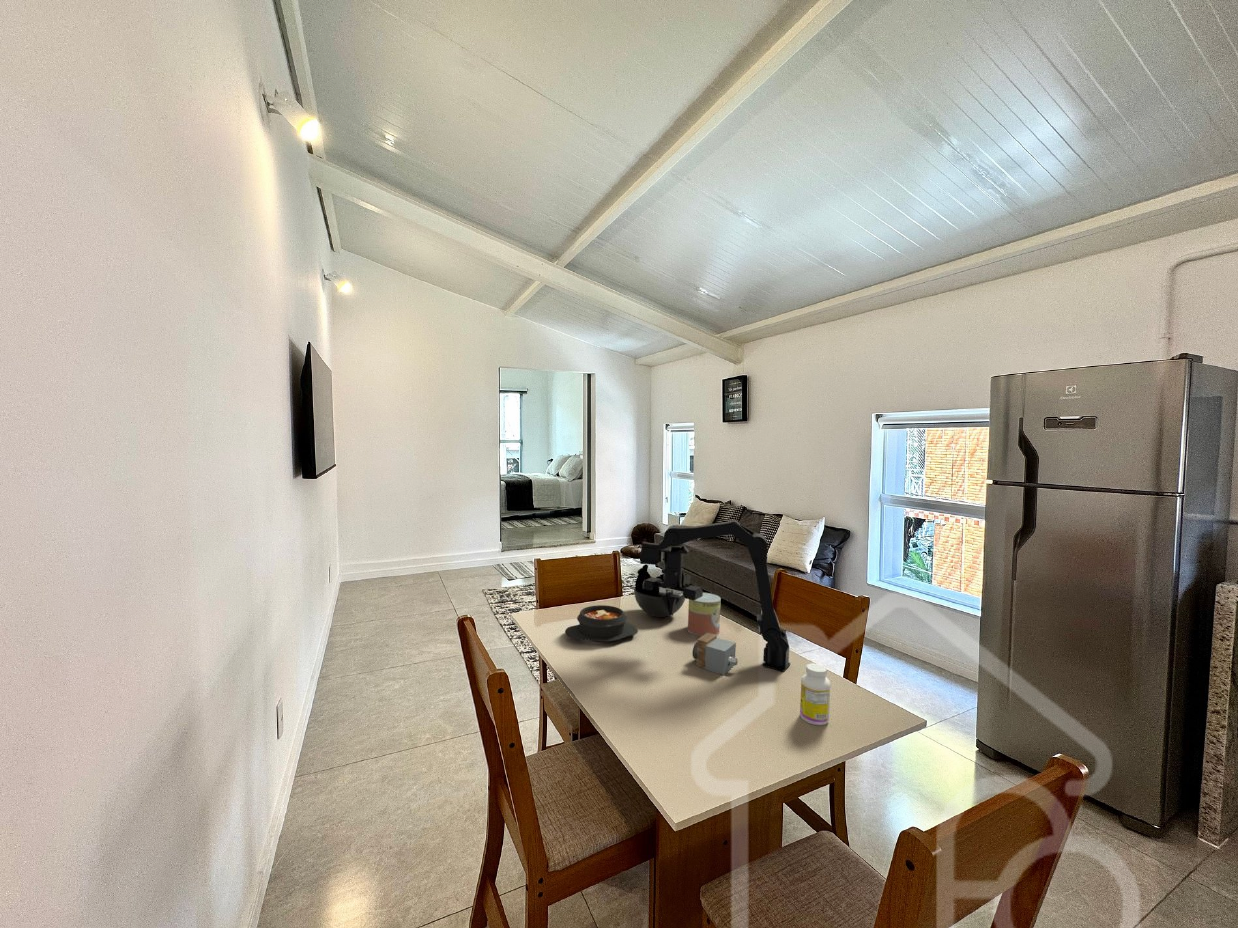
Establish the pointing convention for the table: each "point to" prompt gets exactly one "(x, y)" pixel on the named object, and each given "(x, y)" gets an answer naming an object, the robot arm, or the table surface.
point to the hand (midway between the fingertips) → (671, 614)
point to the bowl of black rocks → (651, 596)
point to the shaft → (730, 659)
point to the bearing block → (719, 655)
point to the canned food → (704, 615)
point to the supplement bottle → (815, 695)
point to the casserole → (601, 625)
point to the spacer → (703, 648)
